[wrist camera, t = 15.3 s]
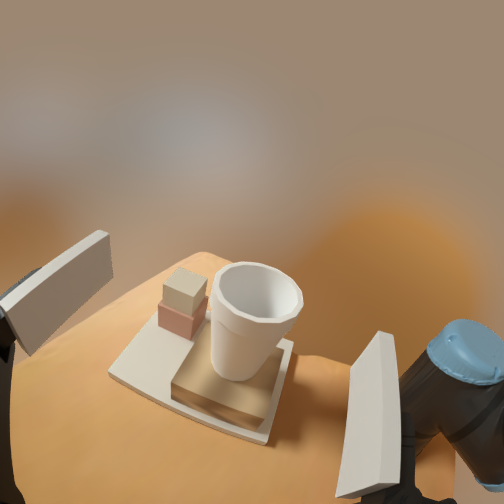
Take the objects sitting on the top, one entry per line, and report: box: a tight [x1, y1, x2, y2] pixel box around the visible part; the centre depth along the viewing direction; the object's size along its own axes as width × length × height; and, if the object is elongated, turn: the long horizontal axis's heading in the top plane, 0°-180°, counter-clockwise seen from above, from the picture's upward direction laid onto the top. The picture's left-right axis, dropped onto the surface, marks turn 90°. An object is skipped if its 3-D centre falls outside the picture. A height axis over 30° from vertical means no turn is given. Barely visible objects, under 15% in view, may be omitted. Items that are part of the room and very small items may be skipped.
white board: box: [107, 310, 293, 446], centre depth 39 cm, size 24×20×2 cm
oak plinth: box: [171, 321, 284, 432], centre depth 35 cm, size 12×12×5 cm
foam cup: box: [209, 262, 304, 381], centre depth 31 cm, size 10×9×13 cm
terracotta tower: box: [158, 267, 209, 341], centre depth 42 cm, size 6×6×9 cm
